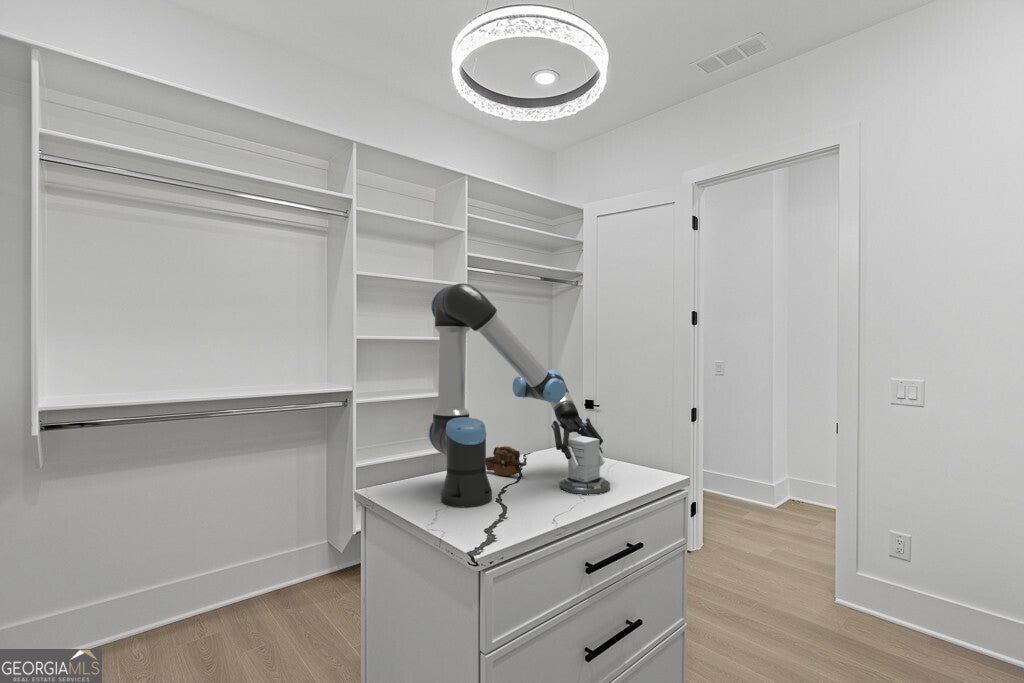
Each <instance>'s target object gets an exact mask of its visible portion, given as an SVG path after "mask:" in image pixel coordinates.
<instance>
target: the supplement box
mask: <svg viewBox="0 0 1024 683" xmlns="http://www.w3.org/2000/svg"><path fill="white" fill-rule="evenodd" d="M568 447H571V448H572V451H573V453H574V456H575V458H576V460H577V463H578V466H577V467H576V469H573V468H572V466H571V463H570V461H569V459H567V460H568V461H567V462H568V463H567V464H568V475H567V476H568V477H569V478H571V479H574V480H578V481H582V482H589V481H592V480H595V479H598V478H600V477H601V472H600V471H601V468H600V467H601V466H600V449H599V439H596V438H590V437H585V436H581V435H580V436H576V437H572V438H569V439H568Z"/></svg>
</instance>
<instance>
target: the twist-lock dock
mask: <svg viewBox="0 0 1024 683" xmlns="http://www.w3.org/2000/svg"><path fill="white" fill-rule="evenodd" d="M610 484H611V483H610V482H609V481H608V480H607V479H606V478H604V477H602V476H600V478H598V479H595V480H592V481H589V482H582V481H578V480H574V479H571V478H569V477H568V475H566V476H565V477H563V478H562V477H560V478H559V482H558V488H559V489H560V490H561V491H562V490H563V492H564V491H565V492H564V493H567V492H568V493H567V494H571V493H572V494H571V495H577V494H582V495H581V496H590V495H589V494H597V495H601V494H600V493H603V494H605V493H604V492H606V493H607V491H608V490H609V489H610V490H611V485H610ZM610 490H609V491H610ZM609 491H608V492H609ZM587 494H588V495H587Z"/></svg>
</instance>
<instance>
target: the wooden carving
mask: <svg viewBox="0 0 1024 683" xmlns="http://www.w3.org/2000/svg"><path fill="white" fill-rule="evenodd" d="M492 454H493V456H488V457H487V456H486V471H490V472H491V471H493V472H494V473H495V474H497V475H499V476H504V477H505V476H507V477H508V476H514V475H517V474H520V473H521V472H522V469H521V468H520V467H523V466H525V465H526V464H525V462H521V461H520V457H521V453H520V451H519V450H516V449H515V448H513V447H512V446H505V445H504V446H500V447H499V446H495V447H494V449H493V452H492Z"/></svg>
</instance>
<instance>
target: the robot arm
mask: <svg viewBox="0 0 1024 683" xmlns="http://www.w3.org/2000/svg"><path fill="white" fill-rule="evenodd" d="M430 306H431V312H432V316H433V317H434V328H435V329H436V330H437V332H438V334H439V335H438V336H439V340H438V342H439V346H438V386H437V387H438V389H437V390H438V392H437V395H438V396H437V398H438V399H437V407H436V409H435V410H434V411H433V412H432V422H431V424H430V426H429V428H428V429H429V430H428V439H429V442H430V444H431V445H432V447H434V449H435V450H437V452H439V453H441V454H444V456H446V475H445V478H444V482H443V485H442V488H441V492H440V501H441V503H442V504H444V505H447V506H450V507H458V508H470V507H477V506H482V505H486V504H488V503H490V502H491V501H492V498H493V492H492V488H491V483H490V480H489V478H488V475H487V469H486V458H487V431H486V425H485V423H484V422H483V420H480V419H478V418H473V417H470V412H469V410H468V409H466V407H465V406H466V405H465V404H466V401H465V400H466V358H467V353H466V352H467V344H466V343H467V333H468V332H469V331H470V330H471V329H472V331H473V332H479V333H480V334H481V336H483V338H485V340H486V341H487V342H488V343H489V344H490V345H491V346H492V347H493V348H494V350H496V351H497V353H498V354H500V356H501V357H502V358H503V359H504V360H505V361H506V362H507V363H508V365H510V367H511V368H512V369H513V370H514V371H515V372H516V373H517V374H518V375H516V376H515V377H514V379H513V382H512V392H513V394H514V396H515V397H517V398H523V399H524V398H531V399H534V400H535V399H536V400H540V401H545V402H548V403H549V404H550V405H551V408H552V410H553V412H554V416H555V418H556V420H553V422H552V424H551V426H550V427H551V428H552V431H553V435H554V442H555V447H556V448H555V449H556V450H557V451H561V453H564V456H565V458H566V460H568V459H569V461H570V463H571V466H572V468H573V469H576V467H577V466H578V463H577V460H576V458H575V456H574V453H573V451H572V448H571V447H568V439H570V434H571V433H576V434H578V435H580V436H585V437H590V438H596V439H599V449H600V467H602V466H603V465H604V464H605V463H606V461H605V458H604V456H603V453H604V452H603V449H602V448H601V445H602V444H603V442H604V439H603V438H602V437H601V435H600V434H599V433H598V431H597V430H596V429H595V427H594V426H593V424H592V423H591V419H590V418H588V417H587V418H586V419H582V418H581V417H580V416H579V411H578V408H577V406H576V405H575V401H574V400H573V397H572V396H571V393H570V391H569V389H568V387H567V385H566V382H565V380H564V378H563V376H562V375H561V372H560V371H558V369H553V368H552V369H549V370H547V369H546V367H544V365H543V364H542V363H541V361H539V360H538V359H537V358H536V356H534V354H533V353H532V352H531V351H530V350H529V349H528V347H527V346H526V345H525V344H524V343H523V342H522V341H521V340H520V339H519V338H518V336H517V335H516V334H515V333H514V332H513V331H512V330H511V329H510V327H509V326H508V325H507V324H506V323H505V322H504V321H503V319H502V318H501V317H500V316H499V315H498V309H497V308H496V307H495V305H493V303H492V302H491V301H490V300H489V299H488V298H487V296H485V295H484V294H483V292H481V291H480V290H479V289H478V288H477V287H475V286H474V285H471V284H469V283H465V282H464V283H461V282H460V283H455V284H453V285H451V286H446V287H443V288H442V289H440V290H439V291H437V292H436V293H435V295H434V296H433V297H432V300H431V305H430ZM561 428H562V429H563V438H562V434H561Z"/></svg>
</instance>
